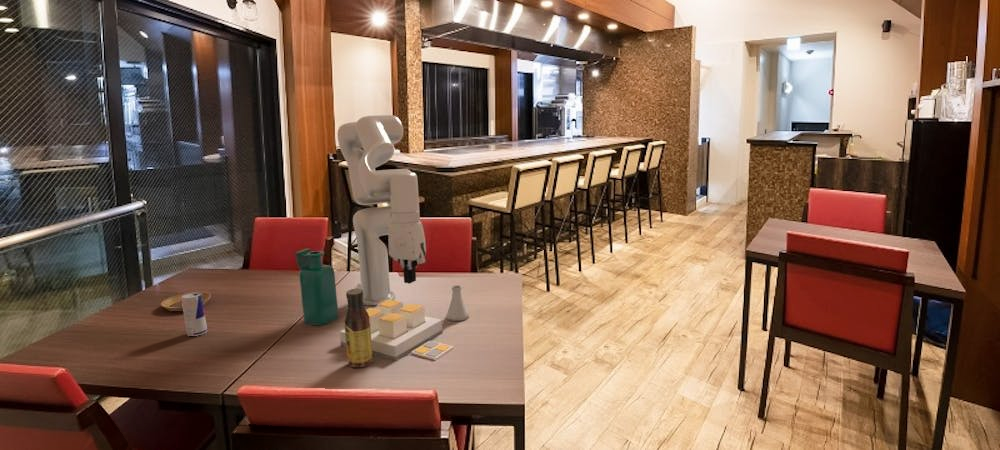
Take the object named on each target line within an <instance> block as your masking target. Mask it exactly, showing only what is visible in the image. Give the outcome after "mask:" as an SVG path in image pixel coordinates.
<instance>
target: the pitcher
mask: <svg viewBox="0 0 1000 450" xmlns="http://www.w3.org/2000/svg"><path fill="white" fill-rule="evenodd" d="M294 254H295V259H296V264H297V266H298V269H299V270H300V271H299V273H298V275H299V276H298V277H299V285H300V286H299V287H300V295H301V304H302V305H301V307H302V314H303V315H302V316H303V322H304V323H306V324H309V325H314V326H325V325H328V324H329V323H331V322H333V321H335V320H336V319H338V318H339V308H338V299H337V287H336V286H337V285H336V275H335V269H334V267H333V266H331V265H329V264H324V263H323V258H322V256H324V255H325V251H322V250H314V251H312V249H311V248H305V249H302V250H300V251H296V252H295V253H294Z"/></svg>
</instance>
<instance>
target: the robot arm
mask: <svg viewBox="0 0 1000 450" xmlns="http://www.w3.org/2000/svg"><path fill="white" fill-rule="evenodd" d="M403 137H404V127H403V123H402V121H401V119H399V117H397V116H396V115H391V114H389V115H388V114H387V115H386V114H385V115H384V114H383V115H366V116H363V117H360V118H359V119H358V120H357V121H353V122H346V123H343V124H341V125H340V126H339V127H338V129H337V142H338V147H339V149H340V151H341V154H342V155H343V158H344V160H345V162H346V165H347V168H348V173H349V178H350V186H351V190H352V191H351V192H352V195H353V199H354V201H355V203H356V204H358V205H361V206H367V205H377V204H387V205H386V206H379V207H378V206H377V207H369V208H368V207H367V208H363V209H360V210H358V211H356V212H355V213H354V215H353V217H352V223H353V229H354V233H355V237H356V243H357V250H358V251H357V252H358V263H359V265H358V266H359V276H360V283H357V286H355V287H354V289H361V290H363V304H364V306H365V305H366V306H377V305H378V304H380V303H382V302H384V301H386V300H388V299H391V300H395V298H396V293H395V292H393V291H391V287H390V286H391V285H390V269H389V257H388V256H390V258H392V260H394V261H396V262H398V263H399V264H400V268H401V269H402V271H403V282H404V283H405V284H412V283H415V282H416V281H417V275H416V272H417V271H416V268H418V266H419V265H421V264H424V263H426V259H425V257H426V255H427V246H426V245H427V244H426V236H425V230H424V225H423V222H422V221H421V217H420V215H421V214H420V200H419V199H420V197H419V184H418V183H419V182H418V175H417V173H415V172H413V171H411V170H409V169H407V168H395V169H381V170H380V169H379V170H376V168H378V167H380V166H382V165H385V164H386V163H387V162H389V161H390V160H391V159H392V158H393V155H394V154H395V147H394V145H396V144H398V143H400V141H401V140H402V139H403ZM382 236H388V248H387V245H386V244H385V243H384V242H383V241H382V240H381V239H380V237H382Z"/></svg>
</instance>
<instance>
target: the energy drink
mask: <svg viewBox="0 0 1000 450" xmlns="http://www.w3.org/2000/svg"><path fill="white" fill-rule="evenodd" d="M198 292H199V291H195V292H194V293H193V292H187V293H188V294H185V293H184V294H185V295H183V296H182V299H181V300H182V307H183V313H182V314H183V318H184V326H185V332H186V333H185V334H186V335H188V336H187V337H189V336H197V337H199V336H198V335H201V334H204V333H205V334H207V332H208V327H207V320H206V314H205V313H206V312H205V307H204V306H205V305H203V298H202V295H201V293H198ZM205 334H204V335H205ZM201 336H202V335H201Z"/></svg>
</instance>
